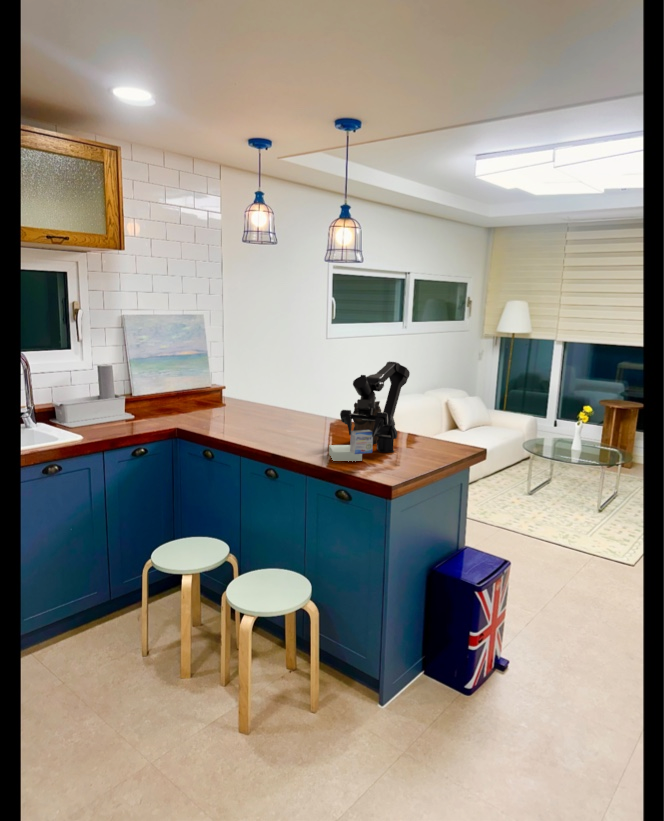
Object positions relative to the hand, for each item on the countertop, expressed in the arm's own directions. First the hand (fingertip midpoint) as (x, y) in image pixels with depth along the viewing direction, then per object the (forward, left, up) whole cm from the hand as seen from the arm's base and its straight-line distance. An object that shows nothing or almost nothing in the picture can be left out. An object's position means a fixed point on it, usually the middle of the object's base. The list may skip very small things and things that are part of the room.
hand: (361, 435), depth 220 cm
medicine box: (-1, -1, -7) cm, 7 cm away
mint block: (+3, -16, -13) cm, 21 cm away
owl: (-11, -43, -13) cm, 46 cm away
